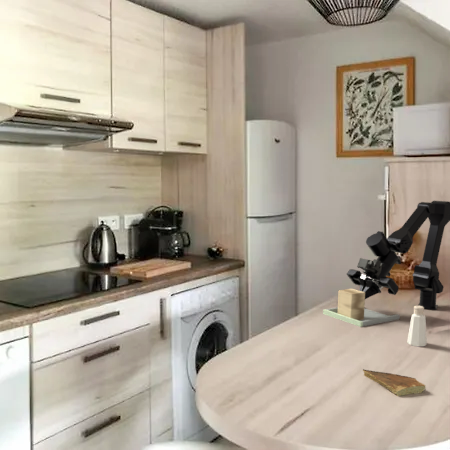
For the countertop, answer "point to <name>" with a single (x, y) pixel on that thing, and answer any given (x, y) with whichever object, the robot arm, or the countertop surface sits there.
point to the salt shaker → (417, 328)
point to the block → (351, 303)
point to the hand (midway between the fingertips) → (358, 300)
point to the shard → (396, 382)
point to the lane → (369, 317)
